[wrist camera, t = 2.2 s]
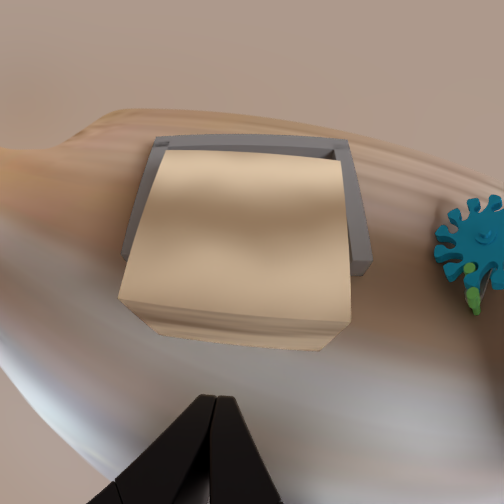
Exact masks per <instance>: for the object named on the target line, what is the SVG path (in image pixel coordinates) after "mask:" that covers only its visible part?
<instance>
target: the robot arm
mask: <svg viewBox="0 0 504 504" xmlns="http://www.w3.org/2000/svg"><path fill="white" fill-rule="evenodd" d="M209 493H210V504H284V503H283V502H281V498H280V496H279V494H278V492H277V489H276V487H275V485H274V483H273V481H272V479H271V477H270V475H269V473H268V471H267V469H266V467H265V465H264V463H263V460H262V458H261V456H260V454H259V452H258V450H257V447H256V445H255V443H254V441H253V439H252V436H251V434H250V432H249V430H248V427H247V425H246V423H245V420H244V418H243V416H242V413H241V411H240V409H239V406H238V404H237V402H236V399H235V398H234V397H233V396H218V397H216V396H215V395H205V394H201V395H199V396H198V397H197V398H196V399H195V400H194V401H193V402H192V403H191V404H190V405H189V406H188V407H187V408H186V410H185V411H184V412H183V413H182V414H181V415H180V416H179V417H178V418H177V419H176V420H175V421H174V422H173V423H172V424H171V425H170V426H169V427H168V428H167V429H166V430H165V431H164V432H163V433H162V434H161V435H160V436H159V437H158V438H157V439H156V440H155V441H154V442H153V443H152V444H151V445H150V446H149V447H148V448H147V449H146V450H145V451H144V452H143V453H142V454H141V455H140V456H139V457H138V458H137V459H136V460H135V461H134V462H132V463H131V464H130V465H129V466H128V467H127V468H126V469H125V470H124V471H123V472H122V473H121V474H120V475H119V476H118V477H117V478H115V482H114V481H112V482H111V483H110V484H109V485H108V486H107V487H106V488H104V489H103V490H102V491H101V492H100V493H99V494H97V495H96V496H95V497H94V498H93V499H92V500H91V501H89V502H88V503H86V504H207V501H208V497H209Z"/></svg>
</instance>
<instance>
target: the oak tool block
mask: <svg viewBox="0 0 504 504" xmlns="http://www.w3.org/2000/svg"><path fill="white" fill-rule="evenodd" d="M118 299H119V300H120V301H121V302H122V303H123V304H124V305H125V306H126V307H127V308H128V309H130V310H131V311H132V312H133V313H134V314H135V315H136V316H138V317H139V318H140V319H141V320H142V321H143V322H145V323H146V324H147V325H148V326H149V327H150V328H152V329H153V330H154V331H155V332H156V333H158V334H159V335H164V336H170V337H177V338H183V339H191V340H198V341H206V342H214V343H222V344H231V345H240V346H251V347H262V348H274V349H288V350H304V351H320V350H321V349H323V348H324V347H325V346H326V345H327V344H328V343H329V342H330V341H331V340H333V339H334V338H335V337H336V336H337V335H338V334H339V333H340V332H341V331H342V330H343V329H344V328H345V327H347V326H348V325H349V324H350V323H351V285H350V261H349V244H348V230H347V217H346V206H345V195H344V186H343V177H342V168H341V161H337V160H329V159H321V158H312V157H302V156H292V155H280V154H267V153H252V152H234V151H207V150H166V151H165V154H164V156H163V159H162V161H161V164H160V167H159V169H158V172H157V174H156V177H155V180H154V182H153V185H152V188H151V191H150V193H149V196H148V199H147V202H146V205H145V208H144V211H143V214H142V217H141V220H140V223H139V226H138V229H137V232H136V235H135V238H134V241H133V245H132V248H131V251H130V255H129V258H128V262H127V265H126V269H125V272H124V276H123V279H122V283H121V287H120V291H119V295H118Z"/></svg>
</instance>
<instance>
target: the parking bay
mask: <svg viewBox="0 0 504 504" xmlns="http://www.w3.org/2000/svg"><path fill="white" fill-rule="evenodd" d="M166 150H207V151H234V152H252V153H267V154H280V155H292V156H302V157H312V158H321V159H329V160H337V161H341V168H342V177H343V186H344V195H345V206H346V217H347V230H348V244H349V261H350V276H363V274H364V273H365V271H366V270H367V269H368V267H369V266H370V265H371V263H372V262H373V256H372V250H371V244H370V238H369V233H368V227H367V222H366V217H365V212H364V207H363V202H362V198H361V193H360V188H359V184H358V180H357V175H356V171H355V167H354V163H353V159H352V155H351V151H350V148H349V144H348V140H344V139H334V138H322V137H308V136H291V135H265V134H204V135H178V136H161V137H156V139H155V141H154V144H153V147H152V150H151V153H150V156H149V158H148V161H147V164H146V167H145V170H144V173H143V176H142V180H141V183H140V186H139V189H138V192H137V196H136V199H135V202H134V206H133V209H132V213H131V216H130V220H129V224H128V227H127V231H126V235H125V239H124V243H123V247H122V251H121V255H122V257H123V258H124V259H125V261H126V262H128V258H129V255H130V251H131V248H132V245H133V241H134V238H135V235H136V232H137V229H138V226H139V223H140V220H141V217H142V214H143V211H144V208H145V205H146V202H147V199H148V196H149V193H150V191H151V188H152V185H153V182H154V180H155V177H156V174H157V172H158V169H159V167H160V164H161V161H162V159H163V156H164V154H165V151H166Z"/></svg>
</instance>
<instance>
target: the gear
mask: <svg viewBox="0 0 504 504" xmlns="http://www.w3.org/2000/svg"><path fill="white" fill-rule="evenodd" d="M467 205H468V209H469V211H470V214H469V217H468V219H467V220H465V221H462V216H461V213H460V210H459V209H457V208H456V209H454V210H452V211H450V212H449V213H448V218H449V221H450V223H451V224H453V225H455V226H457V227H458V229H459V230H458V231H457V232H456V233H454V234H451V233H449V231H448V228H447V226H445V225H441V226H440V227H439V228H438V229H437V231H436V232H435V235H436V237H437V240H438V241H439V242H449V243H452V244H454V245H455V247H454V248H452V249H448V248H446V247H445V246H444V245H437V246H436V247H435V250H434V257H435V260H436V262H437V263H442V262H444V261H447V260H450V259H460V260H462V261H461V262H460V263H451V262H450V263H447V264H445V265H444V266H443V269H444V272H445V275H446V278H447V279H448V281H449V282H453V281H455V280H456V279H457V277H458V276H459V275H460V274H462V273H463V272H464V273H465V277H464V280H463V281H464V285H465V287H466V288H465V290H464V295H465V300H466V302H467V303H468V305H469V307H470V308H472V310H473V314H474V315H479V314H480V312H481V310H480V302H481V301H482V299H483V296H484V293H485V291H486V288H487V285H488V282H489V279H491V283H492V289H495V290H502V289H504V209H502V210H500V211H497V212H494V211H496V210H499V209H500V208H501V207H502V200H501V197H500V196H497V195H491V196H490V197H489V203H488V205H487V207H486V208H485V209H484V210H483V211H482V212H480V213H478V212H479V211H480V209H481V206H480V202H479V199H478V198H473V199H468V200H467ZM496 269H497V270H496Z"/></svg>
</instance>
